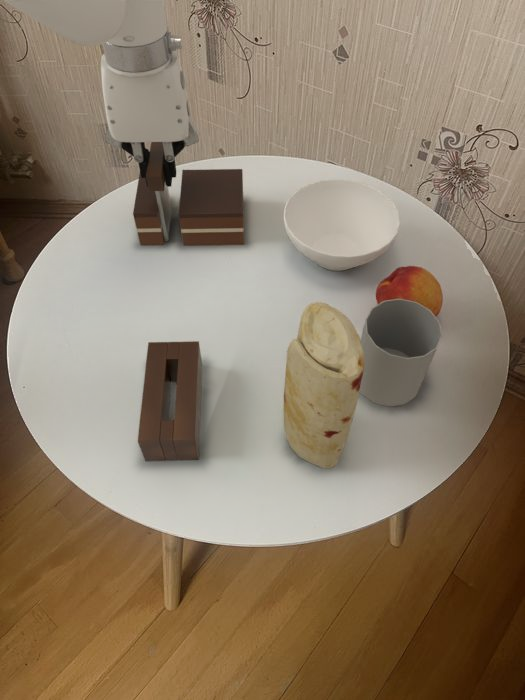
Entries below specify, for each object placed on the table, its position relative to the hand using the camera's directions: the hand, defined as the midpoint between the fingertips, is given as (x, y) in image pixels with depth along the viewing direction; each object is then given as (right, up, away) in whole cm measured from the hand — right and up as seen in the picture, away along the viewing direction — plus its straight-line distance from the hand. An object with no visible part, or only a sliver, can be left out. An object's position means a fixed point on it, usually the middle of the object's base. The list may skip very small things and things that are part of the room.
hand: (159, 179), depth 80 cm
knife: (0, -5, +7) cm, 8 cm away
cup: (+30, -28, -9) cm, 42 cm away
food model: (+20, -34, -14) cm, 42 cm away
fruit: (+34, -19, -3) cm, 39 cm away
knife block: (+4, -31, -12) cm, 34 cm away
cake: (+7, -4, +7) cm, 11 cm away
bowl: (+25, -10, +4) cm, 27 cm away
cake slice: (-2, -4, +7) cm, 9 cm away
